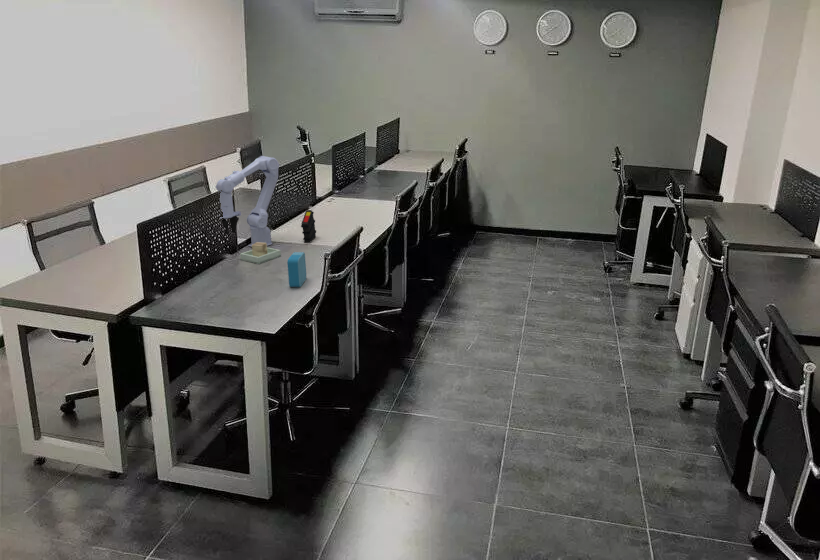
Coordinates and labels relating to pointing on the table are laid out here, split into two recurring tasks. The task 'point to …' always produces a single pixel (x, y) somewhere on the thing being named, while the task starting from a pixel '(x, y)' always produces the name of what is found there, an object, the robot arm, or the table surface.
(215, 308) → the table surface
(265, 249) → the birch block
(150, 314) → the table surface
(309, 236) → the black ridged block
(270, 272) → the table surface
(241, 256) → the sage tray
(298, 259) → the data package
